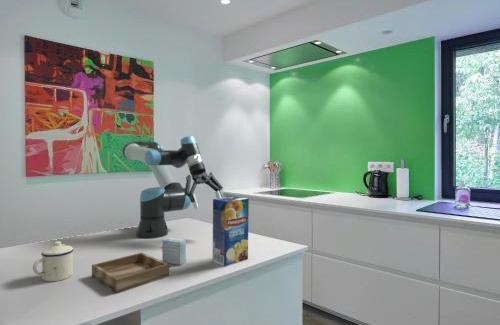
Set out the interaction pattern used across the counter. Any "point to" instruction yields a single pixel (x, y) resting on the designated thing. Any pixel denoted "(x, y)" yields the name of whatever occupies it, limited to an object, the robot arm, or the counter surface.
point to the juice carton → (230, 230)
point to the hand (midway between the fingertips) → (209, 206)
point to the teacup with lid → (56, 262)
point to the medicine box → (174, 251)
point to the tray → (129, 272)
